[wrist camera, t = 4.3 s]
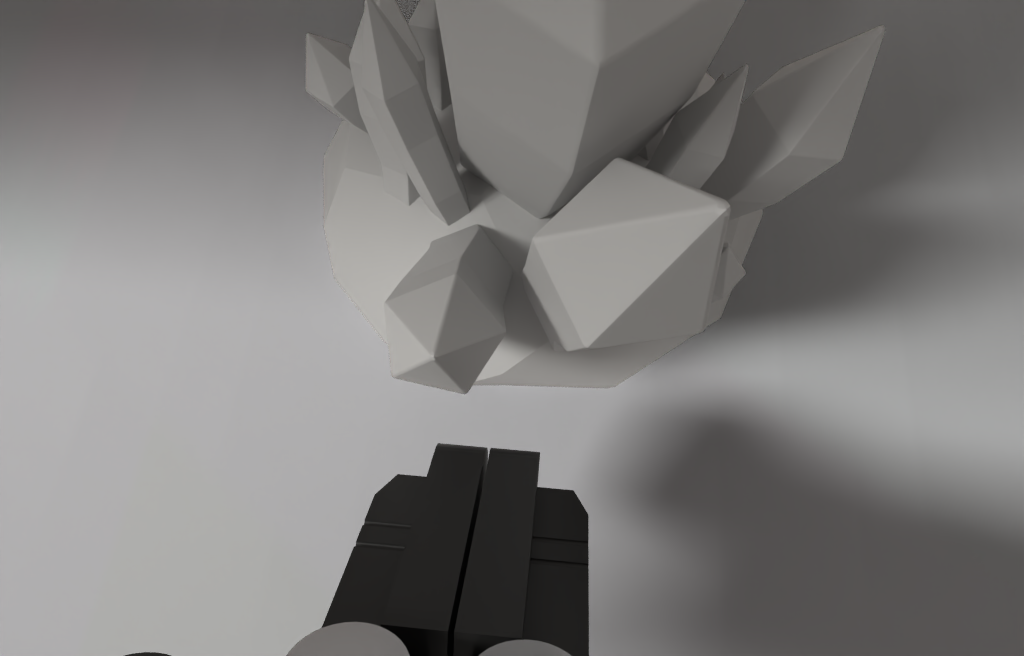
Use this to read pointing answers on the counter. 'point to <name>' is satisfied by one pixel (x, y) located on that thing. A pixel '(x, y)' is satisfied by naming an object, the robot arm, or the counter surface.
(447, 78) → the crystal
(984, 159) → the counter surface
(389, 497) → the robot arm
